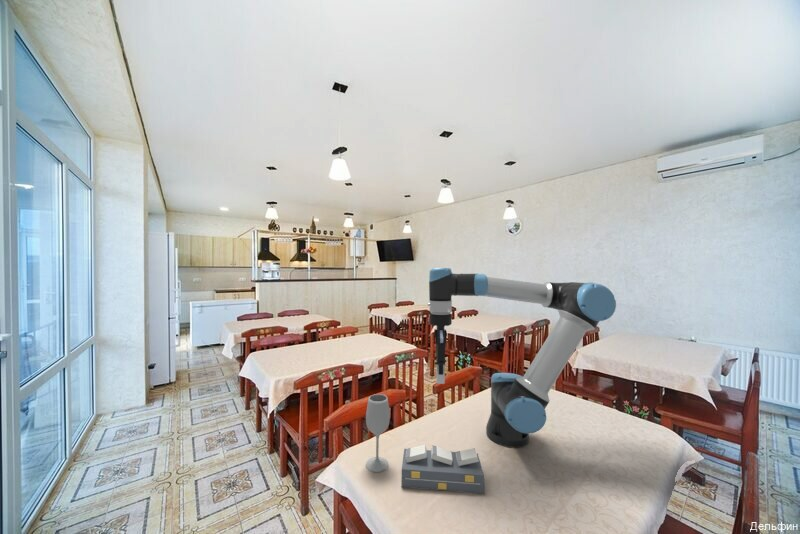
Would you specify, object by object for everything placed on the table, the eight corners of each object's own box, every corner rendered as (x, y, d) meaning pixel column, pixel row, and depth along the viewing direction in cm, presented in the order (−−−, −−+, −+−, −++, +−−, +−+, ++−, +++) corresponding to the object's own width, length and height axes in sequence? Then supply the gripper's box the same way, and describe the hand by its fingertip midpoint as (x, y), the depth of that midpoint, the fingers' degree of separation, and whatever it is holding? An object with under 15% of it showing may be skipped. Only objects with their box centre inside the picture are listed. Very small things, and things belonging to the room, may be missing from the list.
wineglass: (365, 457, 97) (366, 393, 98) (388, 456, 98) (389, 392, 98) (364, 473, 90) (365, 403, 90) (389, 472, 90) (390, 402, 91)
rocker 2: (450, 456, 90) (451, 451, 90) (451, 465, 86) (452, 460, 86) (430, 449, 91) (432, 445, 91) (431, 458, 86) (432, 453, 86)
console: (477, 469, 92) (477, 453, 92) (484, 494, 82) (484, 475, 82) (404, 464, 94) (404, 448, 94) (401, 487, 84) (401, 469, 84)
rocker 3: (476, 452, 89) (474, 447, 90) (478, 461, 85) (477, 456, 85) (457, 456, 90) (455, 451, 90) (458, 466, 86) (457, 460, 86)
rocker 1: (426, 448, 91) (425, 444, 91) (426, 457, 86) (425, 452, 86) (407, 453, 91) (406, 448, 91) (407, 462, 87) (405, 457, 87)
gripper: (428, 310, 107) (428, 376, 107) (429, 315, 94) (430, 390, 94) (449, 310, 107) (449, 376, 106) (453, 315, 94) (453, 390, 93)
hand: (440, 382), depth 100 cm, fingers closed
